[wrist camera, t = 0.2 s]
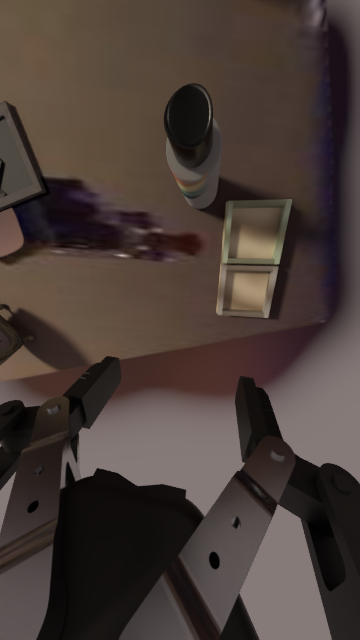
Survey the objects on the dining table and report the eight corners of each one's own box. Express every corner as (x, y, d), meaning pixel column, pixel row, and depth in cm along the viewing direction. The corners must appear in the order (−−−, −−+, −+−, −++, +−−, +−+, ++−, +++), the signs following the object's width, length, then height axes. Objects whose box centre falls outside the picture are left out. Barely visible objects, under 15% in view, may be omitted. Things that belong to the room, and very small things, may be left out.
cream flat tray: (225, 203, 32) (227, 199, 29) (286, 202, 30) (294, 197, 28) (216, 310, 39) (216, 315, 37) (264, 313, 38) (269, 318, 35)
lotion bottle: (207, 162, 30) (202, 31, 12) (223, 196, 32) (239, 124, 13) (178, 185, 32) (136, 102, 14) (194, 216, 33) (175, 177, 15)
